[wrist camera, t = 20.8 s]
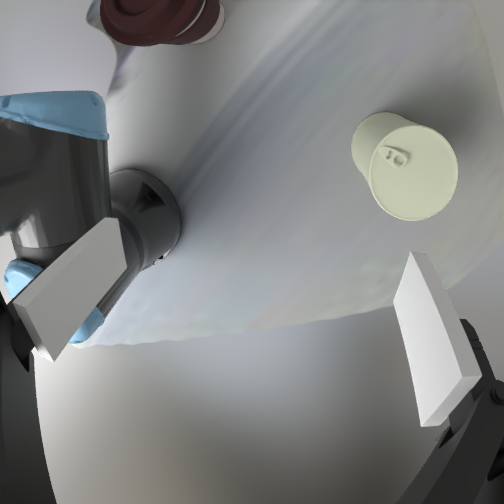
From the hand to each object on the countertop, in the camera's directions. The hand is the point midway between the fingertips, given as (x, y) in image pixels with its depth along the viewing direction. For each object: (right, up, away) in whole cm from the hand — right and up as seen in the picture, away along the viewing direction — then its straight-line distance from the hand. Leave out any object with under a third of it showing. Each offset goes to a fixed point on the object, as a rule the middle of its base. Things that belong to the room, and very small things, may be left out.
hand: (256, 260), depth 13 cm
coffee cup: (-7, +29, +16) cm, 34 cm away
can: (+16, +13, +21) cm, 29 cm away
